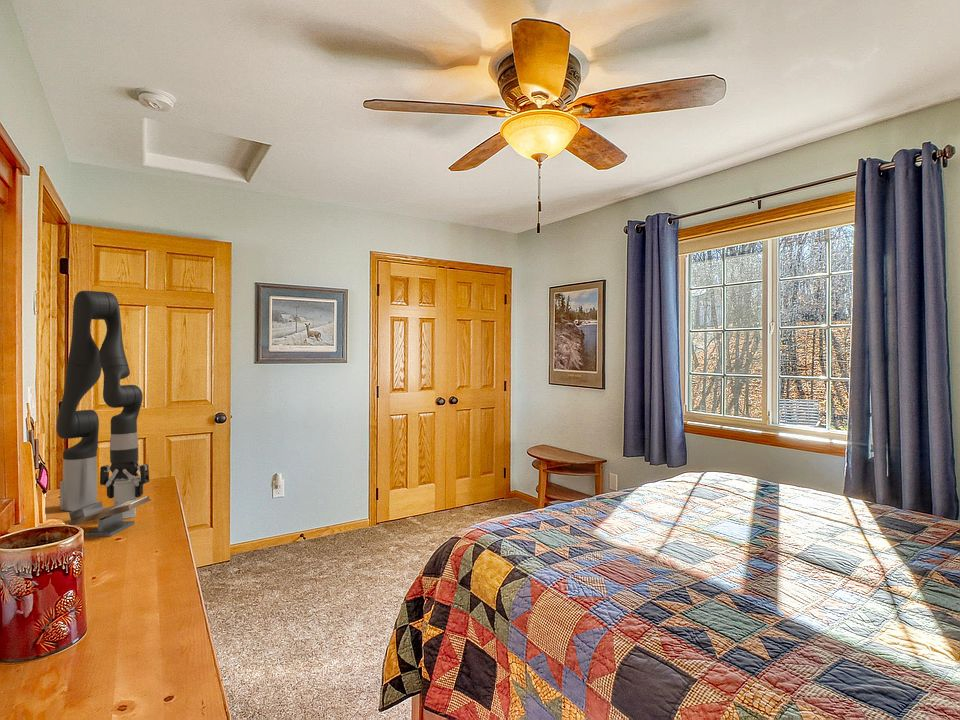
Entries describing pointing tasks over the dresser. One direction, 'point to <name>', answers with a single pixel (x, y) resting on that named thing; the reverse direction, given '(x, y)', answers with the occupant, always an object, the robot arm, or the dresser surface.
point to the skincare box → (124, 495)
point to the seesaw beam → (102, 510)
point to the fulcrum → (109, 526)
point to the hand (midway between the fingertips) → (125, 497)
